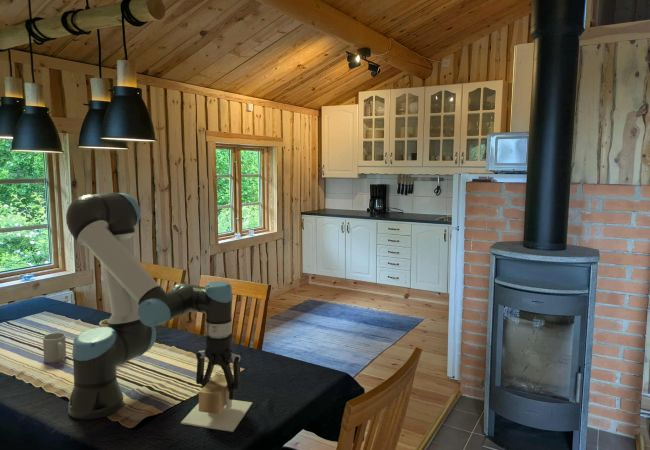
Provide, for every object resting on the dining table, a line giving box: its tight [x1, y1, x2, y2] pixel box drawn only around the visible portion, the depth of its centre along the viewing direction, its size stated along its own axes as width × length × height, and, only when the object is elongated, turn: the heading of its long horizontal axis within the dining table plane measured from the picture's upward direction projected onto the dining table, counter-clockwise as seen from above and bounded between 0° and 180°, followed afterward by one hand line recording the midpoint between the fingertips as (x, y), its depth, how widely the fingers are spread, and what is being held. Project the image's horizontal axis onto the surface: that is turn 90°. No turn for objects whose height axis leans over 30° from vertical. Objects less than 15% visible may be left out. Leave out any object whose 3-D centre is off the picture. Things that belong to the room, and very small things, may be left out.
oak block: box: [198, 373, 234, 414], centre depth 142 cm, size 6×6×12 cm
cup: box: [42, 332, 67, 364], centre depth 176 cm, size 7×10×9 cm
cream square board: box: [180, 399, 253, 433], centre depth 144 cm, size 16×16×1 cm
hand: (218, 407), depth 144 cm, fingers closed on oak block, 6 cm apart
